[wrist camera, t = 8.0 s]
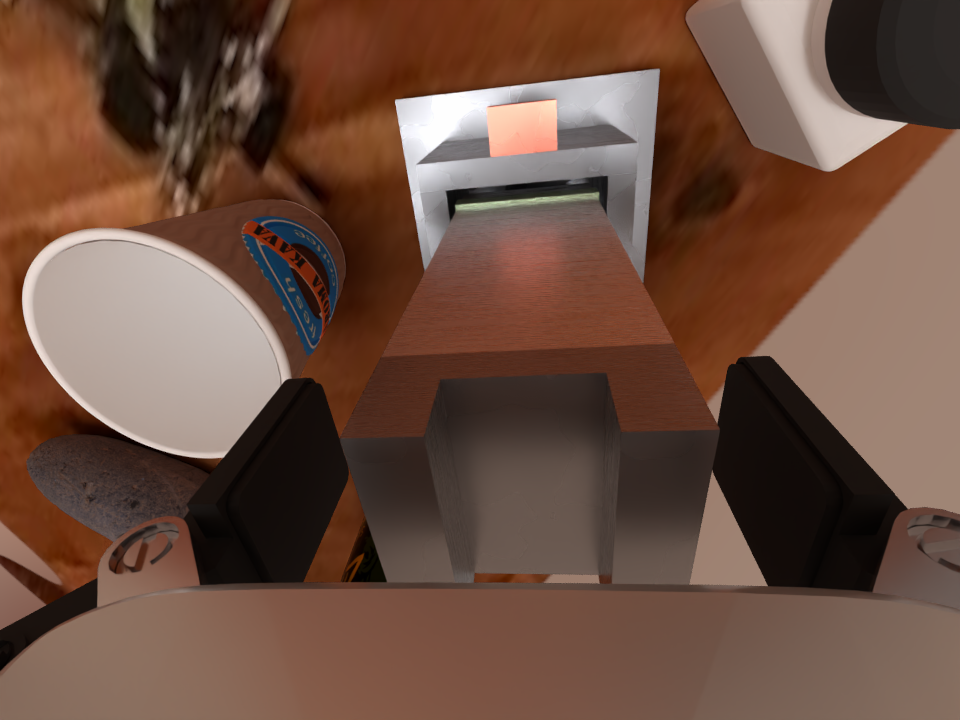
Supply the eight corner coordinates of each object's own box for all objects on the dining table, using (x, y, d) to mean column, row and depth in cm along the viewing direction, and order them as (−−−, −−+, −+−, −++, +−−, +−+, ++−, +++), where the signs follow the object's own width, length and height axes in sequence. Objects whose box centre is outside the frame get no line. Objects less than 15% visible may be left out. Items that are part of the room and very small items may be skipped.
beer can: (440, 502, 39) (408, 657, 29) (421, 541, 41) (386, 694, 31) (377, 481, 38) (321, 632, 28) (362, 522, 41) (306, 672, 31)
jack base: (635, 304, 28) (669, 378, 21) (438, 315, 30) (411, 388, 23) (652, 68, 22) (707, 68, 15) (402, 98, 24) (350, 110, 17)
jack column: (590, 300, 21) (681, 650, 9) (476, 307, 22) (401, 639, 9) (592, 179, 19) (729, 423, 6) (462, 191, 19) (330, 432, 7)
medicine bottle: (752, 149, 23) (922, 211, 13) (679, 15, 21) (822, -35, 11) (914, 35, 21) (1288, 2, 10) (852, -136, 18) (1266, -398, 8)
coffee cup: (399, 314, 30) (332, 440, 20) (259, 346, 32) (135, 474, 22) (330, 142, 25) (194, 194, 15) (170, 194, 27) (-44, 269, 17)
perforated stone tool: (67, 440, 39) (-16, 506, 33) (74, 398, 36) (-15, 462, 30) (241, 516, 42) (194, 590, 36) (259, 482, 40) (211, 555, 34)
